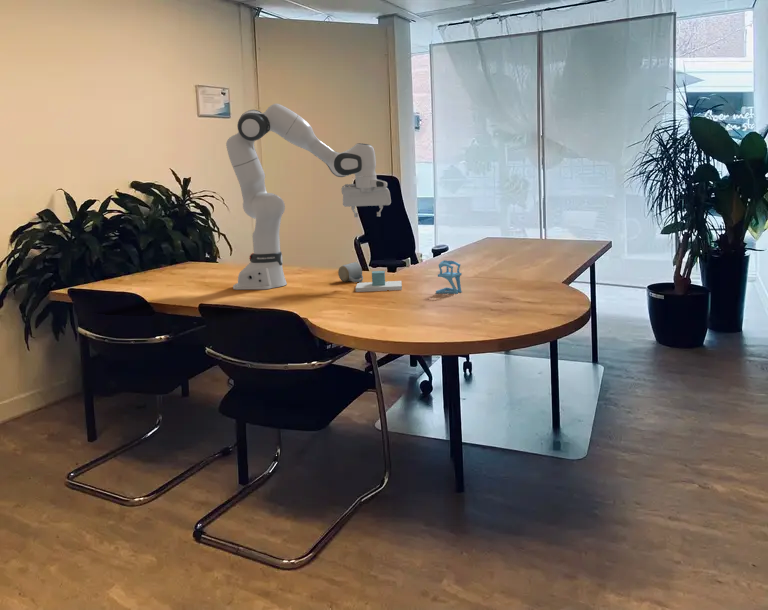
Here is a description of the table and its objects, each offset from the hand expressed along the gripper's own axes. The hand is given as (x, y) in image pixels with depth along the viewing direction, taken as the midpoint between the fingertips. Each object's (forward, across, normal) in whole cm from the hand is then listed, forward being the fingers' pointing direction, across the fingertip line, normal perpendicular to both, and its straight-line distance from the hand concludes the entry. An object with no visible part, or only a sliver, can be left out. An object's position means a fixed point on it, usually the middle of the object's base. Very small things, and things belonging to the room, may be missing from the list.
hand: (367, 216), depth 273 cm
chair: (+27, +32, -35) cm, 54 cm away
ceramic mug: (+27, -7, -1) cm, 28 cm away
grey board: (+27, +5, -20) cm, 34 cm away
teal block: (+26, +5, -20) cm, 33 cm away
